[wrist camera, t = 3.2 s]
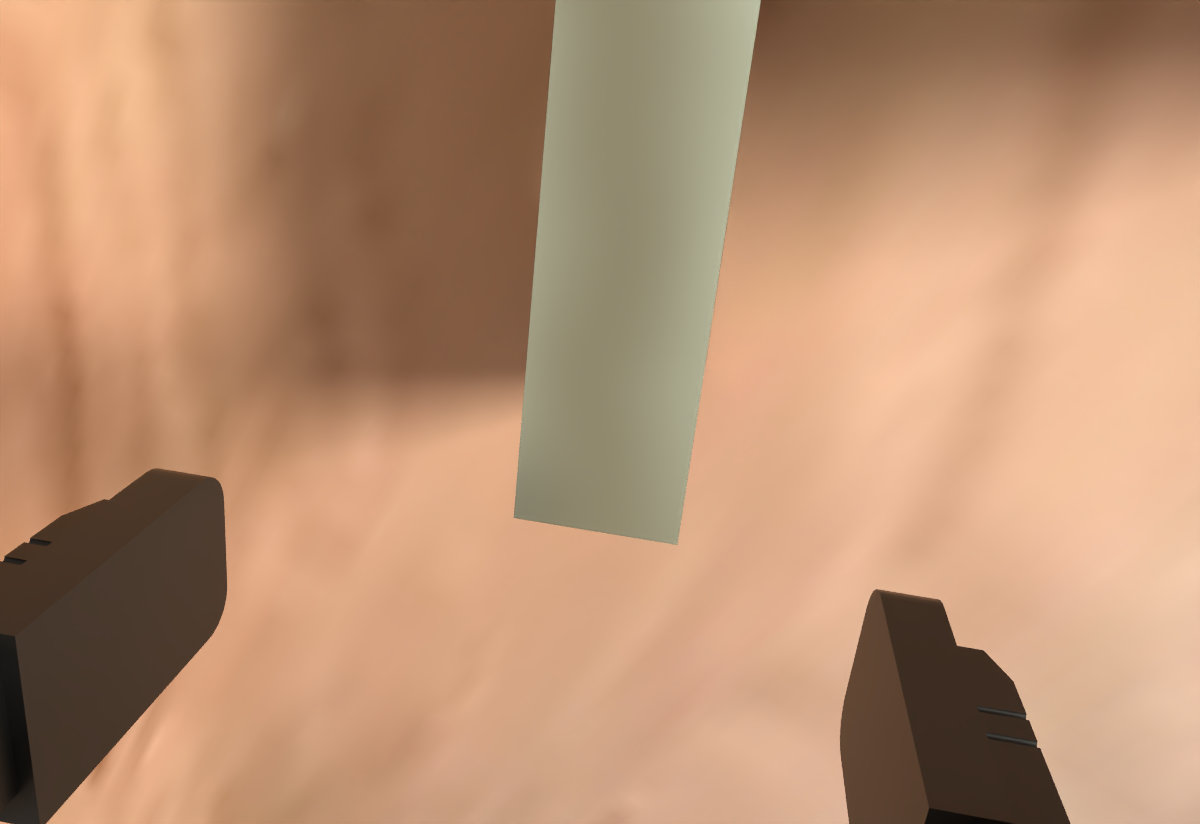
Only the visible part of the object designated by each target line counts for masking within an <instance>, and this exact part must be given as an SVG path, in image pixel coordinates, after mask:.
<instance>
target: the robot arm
mask: <svg viewBox="0 0 1200 824" xmlns="http://www.w3.org/2000/svg"><path fill="white" fill-rule="evenodd" d="M226 595H227V570H226V543H225V516H224V496H223V490H222V487H221V485H220V483H219V481H218V480H216V479H215V478H212V477H206V476H200V475H194V474H188V473H182V472H176V471H170V470H164V469H152V470H150V471H148V472H146V473H145V474H144V475H142V476H141V477H140V478H138V479H137V480H136V481H134V482H133V483H131V484H130V485H129V486H127V487H126V488H125V489H123V490H122V491H121V492H119V493H118V494H117V495H115V496H114V497H113V498H111V499H110V500H105V499H104V500H101V501H99V502H96V503H94V504H91V505H88V506H86V507H83V508H81V509H78V510H75V511H73V512H70V513H68V514H65V515H62V516H61V517H59V518H58V519H56V520H55V521H54V522H52V523H51V524H49V525H48V526H47V527H45V528H44V529H42V530H41V531H40V532H38V533H37V534H35V535H34V536H32V537H31V538H30V542H29V543H25V542H24V543H23V544H21V545H20V546H18V547H17V548H16V549H14V550H13V551H11V552H10V553H9V554H7V555H6V556H5V558H4V561H3V562H1V561H0V821H1V822H6V823H11V824H46V823H47V822H48V821H49V819H50V818H51V817H52V816H53V815H54V814H55V813H56V811H57V810H58V809H59V808H60V807H61V806H62V805H63V804H64V802H65V801H66V800H67V799H68V798H69V797H70V796H71V795H72V793H73V792H74V791H75V790H76V789H77V788H78V787H79V785H80V784H81V783H82V782H83V781H84V780H85V779H86V778H87V776H88V775H89V774H90V773H91V772H92V771H93V770H94V768H95V767H96V766H97V765H98V764H99V763H100V762H101V761H102V759H103V758H104V757H105V756H106V755H107V754H108V753H109V751H110V750H111V749H112V748H113V747H114V746H115V745H116V744H117V742H118V741H119V740H120V739H121V738H122V737H123V736H124V735H125V733H126V732H127V731H128V730H129V729H130V728H131V727H132V725H133V724H134V723H135V722H136V721H137V720H138V719H139V718H140V716H141V715H142V714H143V713H144V712H145V711H146V710H147V708H148V707H149V706H150V705H151V704H152V703H153V702H154V701H155V699H156V698H157V697H158V696H159V695H160V694H161V693H162V692H163V690H164V689H165V688H166V687H167V686H168V685H169V684H170V682H171V681H172V680H173V679H174V678H175V677H176V676H177V675H178V673H179V672H180V671H181V670H182V669H183V668H184V667H185V665H186V664H187V663H188V662H189V661H190V660H191V659H192V658H193V656H194V655H195V654H196V653H197V652H198V651H199V650H200V649H201V647H202V646H203V645H204V644H205V643H206V642H207V641H208V639H209V638H210V637H211V636H212V634H213V633H214V631H215V629H216V628H217V626H218V624H219V621H220V619H221V616H222V613H223V610H224V606H225V601H226ZM840 751H841V761H842V769H843V777H844V785H845V793H846V801H847V809H848V817H849V824H1070V821H1069V819H1068V816H1067V814H1066V811H1065V809H1064V806H1063V804H1062V801H1061V799H1060V796H1059V794H1058V791H1057V789H1056V787H1055V784H1054V782H1053V779H1052V777H1051V774H1050V772H1049V769H1048V767H1047V764H1046V762H1045V759H1044V757H1043V754H1042V752H1041V749H1040V748H1037V739H1036V737H1035V734H1034V732H1033V729H1032V727H1031V724H1030V722H1029V720H1026V712H1025V709H1024V707H1023V704H1022V702H1021V699H1020V697H1019V694H1018V692H1017V689H1016V687H1015V684H1014V682H1013V681H1012V680H1011V679H1010V678H1009V676H1008V675H1007V674H1006V673H1005V672H1004V671H1003V670H1002V669H1001V668H1000V667H999V666H998V665H997V664H996V663H995V662H994V661H993V660H992V659H991V658H990V657H989V656H988V655H987V654H986V653H985V652H984V651H983V650H978V649H972V648H966V647H960V646H957V645H956V642H955V639H954V636H953V633H952V630H951V627H950V624H949V621H948V618H947V615H946V612H945V609H944V606H943V603H942V602H941V601H940V600H938V599H932V598H926V597H920V596H914V595H908V594H902V593H896V592H890V591H884V590H878V589H876V590H874V591H873V593H872V595H871V597H870V599H869V602H868V606H867V609H866V613H865V617H864V621H863V626H862V630H861V634H860V638H859V642H858V646H857V650H856V654H855V658H854V662H853V666H852V670H851V675H850V679H849V683H848V687H847V691H846V695H845V700H844V705H843V711H842V719H841V731H840Z"/></svg>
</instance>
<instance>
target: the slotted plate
mask: <svg viewBox="0 0 1200 824" xmlns="http://www.w3.org/2000/svg"><path fill="white" fill-rule="evenodd" d="M760 4H761V0H556V4H555V16H554V29H553V41H552V53H551V66H550V78H549V90H548V103H547V115H546V127H545V140H544V152H543V164H542V177H541V189H540V201H539V214H538V226H537V238H536V251H535V263H534V275H533V288H532V300H531V312H530V325H529V337H528V349H527V362H526V374H525V386H524V399H523V411H522V423H521V436H520V448H519V460H518V473H517V485H516V497H515V510H514V518H517V519H523V520H529V521H536V522H542V523H548V524H554V525H560V526H566V527H572V528H578V529H584V530H590V531H596V532H602V533H608V534H614V535H620V536H626V537H632V538H638V539H644V540H650V541H657V542H663V543H669V544H675V545H677V544H678V538H679V531H680V525H681V518H682V512H683V505H684V499H685V492H686V486H687V480H688V473H689V467H690V460H691V454H692V447H693V441H694V434H695V428H696V421H697V415H698V408H699V402H700V396H701V389H702V383H703V376H704V370H705V363H706V357H707V350H708V344H709V337H710V331H711V324H712V318H713V311H714V304H715V298H716V291H717V285H718V278H719V272H720V265H721V259H722V252H723V246H724V239H725V233H726V226H727V220H728V213H729V206H730V199H731V193H732V186H733V180H734V173H735V167H736V160H737V154H738V147H739V141H740V134H741V128H742V121H743V114H744V108H745V101H746V95H747V88H748V82H749V75H750V69H751V62H752V56H753V49H754V43H755V36H756V30H757V23H758V17H759V10H760Z"/></svg>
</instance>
